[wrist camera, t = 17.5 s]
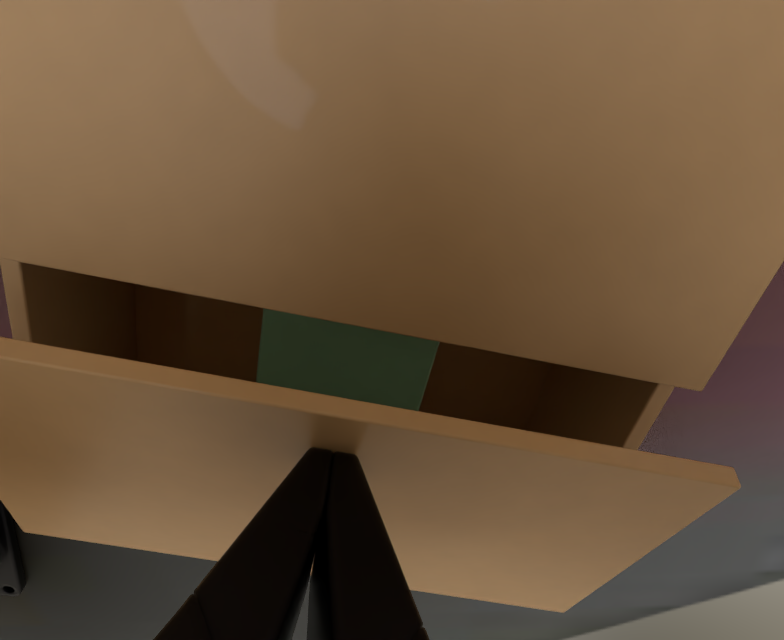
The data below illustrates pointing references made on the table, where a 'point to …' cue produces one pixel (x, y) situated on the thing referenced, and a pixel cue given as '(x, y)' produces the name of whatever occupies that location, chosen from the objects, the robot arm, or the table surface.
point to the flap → (339, 434)
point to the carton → (401, 188)
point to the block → (344, 360)
